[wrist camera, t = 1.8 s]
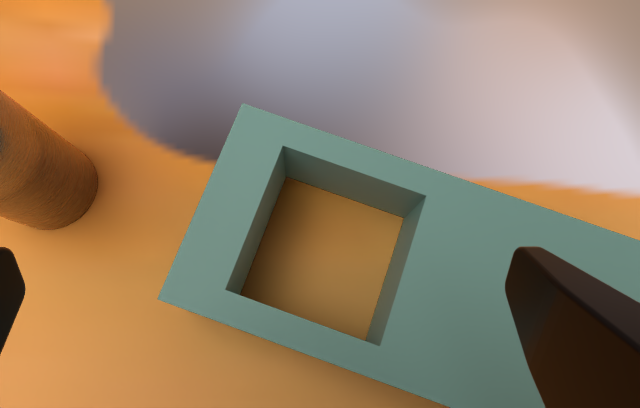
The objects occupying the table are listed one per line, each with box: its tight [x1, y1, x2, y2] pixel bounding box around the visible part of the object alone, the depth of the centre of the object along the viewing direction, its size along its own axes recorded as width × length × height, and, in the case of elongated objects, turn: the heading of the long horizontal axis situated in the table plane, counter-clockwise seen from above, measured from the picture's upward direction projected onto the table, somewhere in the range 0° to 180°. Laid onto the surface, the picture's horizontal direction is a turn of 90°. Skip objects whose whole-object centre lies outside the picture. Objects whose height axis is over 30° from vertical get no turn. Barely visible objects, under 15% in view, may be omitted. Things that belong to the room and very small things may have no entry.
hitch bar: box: [158, 103, 640, 408], centre depth 19 cm, size 20×8×4 cm, turn 70°
